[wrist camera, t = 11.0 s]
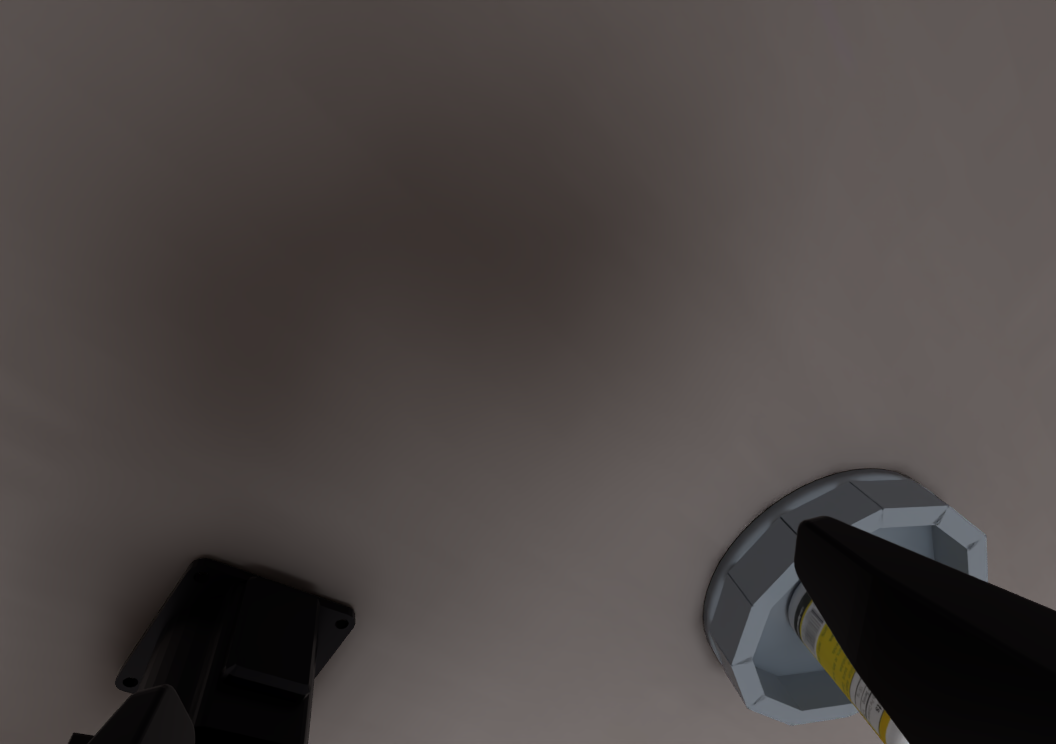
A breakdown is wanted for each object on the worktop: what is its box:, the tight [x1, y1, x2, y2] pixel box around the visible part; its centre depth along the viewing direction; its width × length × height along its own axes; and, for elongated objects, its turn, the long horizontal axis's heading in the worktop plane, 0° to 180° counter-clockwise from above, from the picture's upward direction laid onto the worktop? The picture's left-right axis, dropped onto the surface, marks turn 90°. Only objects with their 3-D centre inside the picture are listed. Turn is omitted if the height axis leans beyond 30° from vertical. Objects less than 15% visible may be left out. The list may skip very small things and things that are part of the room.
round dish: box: [703, 469, 988, 726], centre depth 29 cm, size 13×13×3 cm
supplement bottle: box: [788, 583, 909, 744], centre depth 25 cm, size 5×5×10 cm
